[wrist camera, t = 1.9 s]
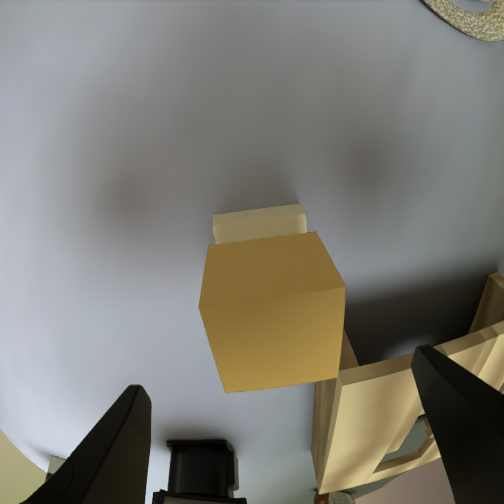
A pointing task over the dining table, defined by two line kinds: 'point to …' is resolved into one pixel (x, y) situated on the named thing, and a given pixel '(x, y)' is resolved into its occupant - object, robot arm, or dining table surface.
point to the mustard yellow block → (271, 301)
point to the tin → (333, 498)
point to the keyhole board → (393, 402)
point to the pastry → (473, 19)
